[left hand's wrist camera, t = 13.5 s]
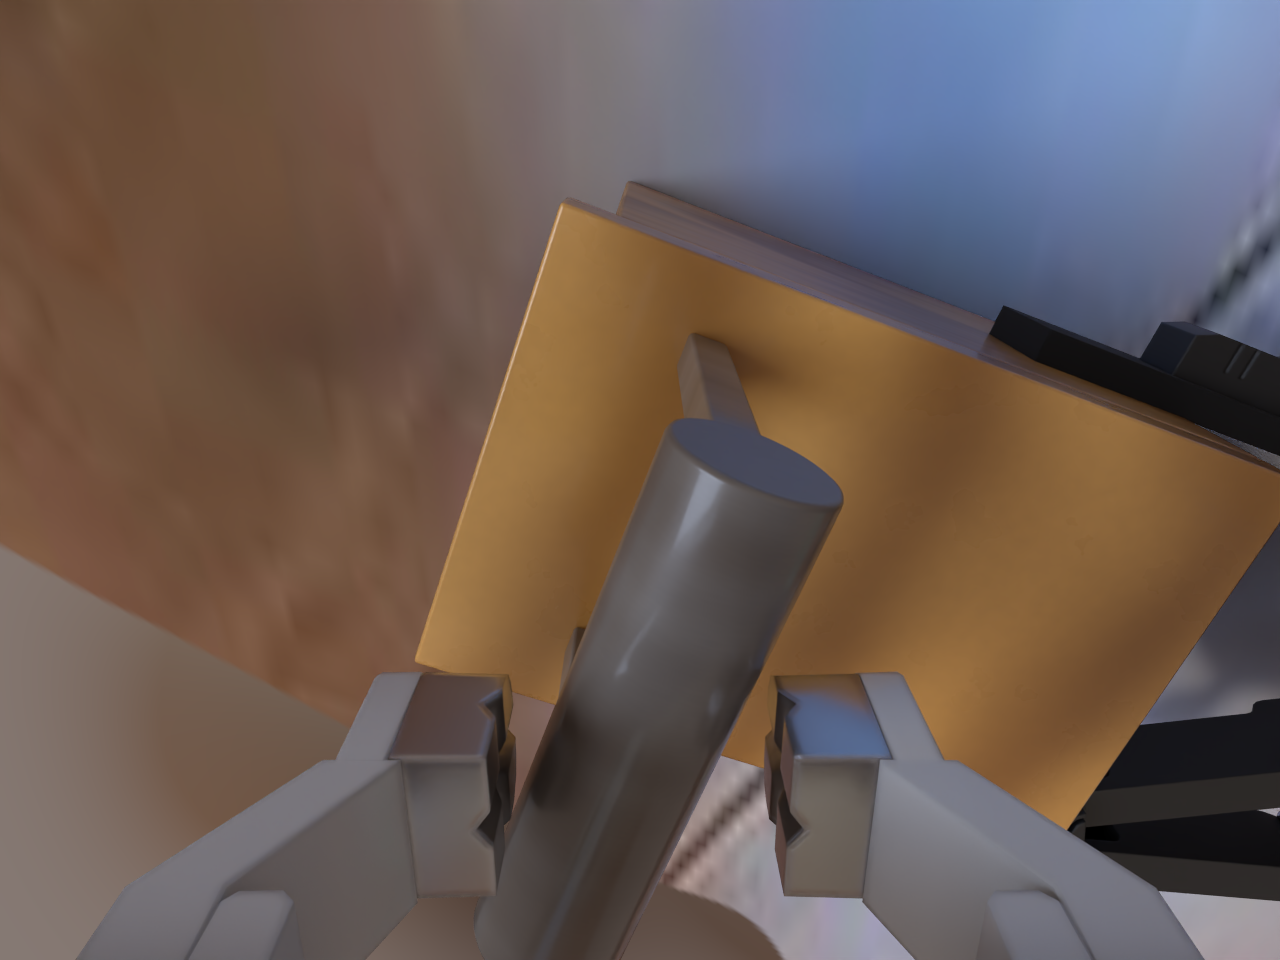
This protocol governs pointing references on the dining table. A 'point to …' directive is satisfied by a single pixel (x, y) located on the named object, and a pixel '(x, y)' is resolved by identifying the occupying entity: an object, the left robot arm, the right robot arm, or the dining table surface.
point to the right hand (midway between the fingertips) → (918, 520)
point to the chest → (859, 290)
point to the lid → (799, 556)
